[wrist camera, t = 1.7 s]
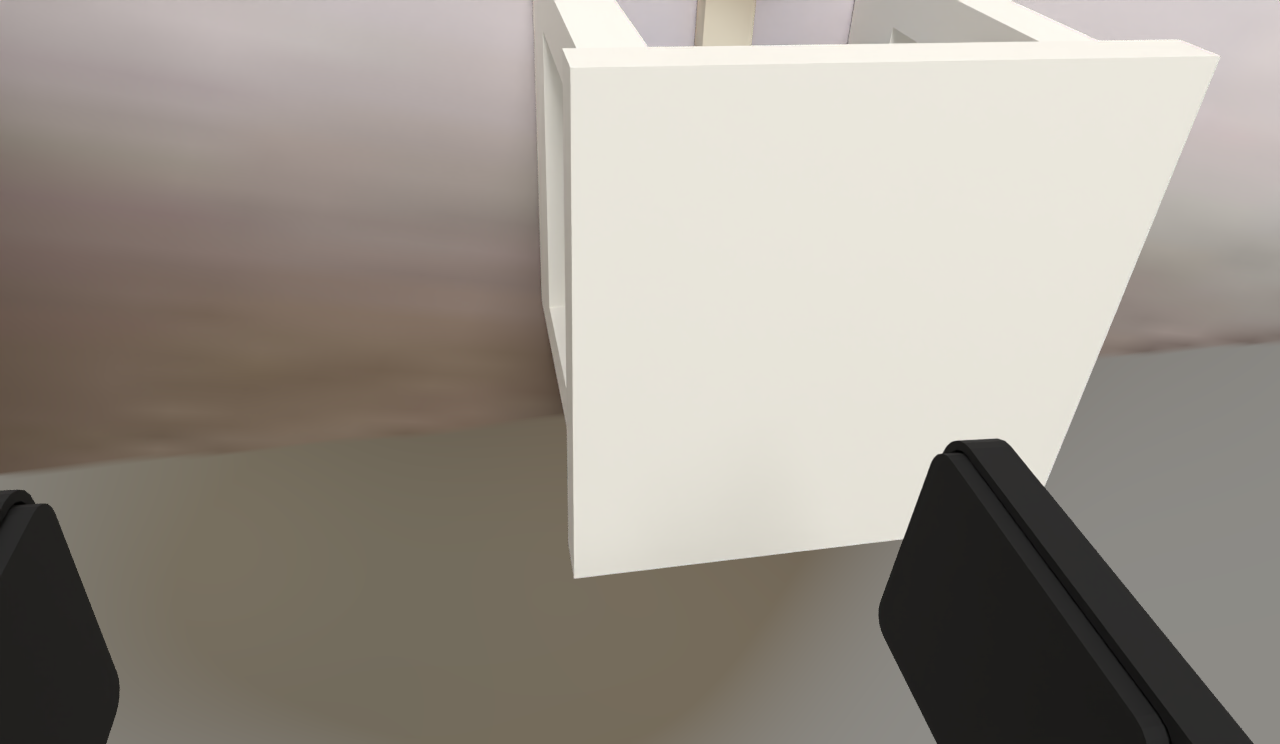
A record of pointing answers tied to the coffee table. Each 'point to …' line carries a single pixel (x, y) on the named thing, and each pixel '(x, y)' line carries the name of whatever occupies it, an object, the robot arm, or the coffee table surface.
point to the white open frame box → (830, 261)
